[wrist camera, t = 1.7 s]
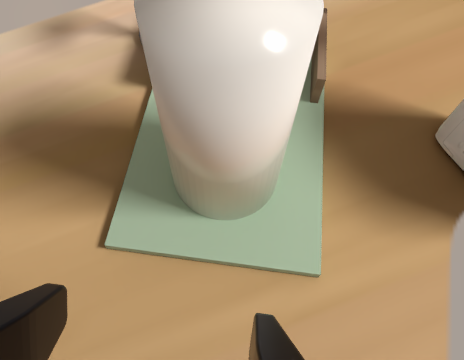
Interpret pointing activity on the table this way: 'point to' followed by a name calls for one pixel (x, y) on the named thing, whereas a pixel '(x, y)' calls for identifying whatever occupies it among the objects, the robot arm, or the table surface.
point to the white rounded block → (227, 93)
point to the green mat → (227, 231)
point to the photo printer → (453, 135)
